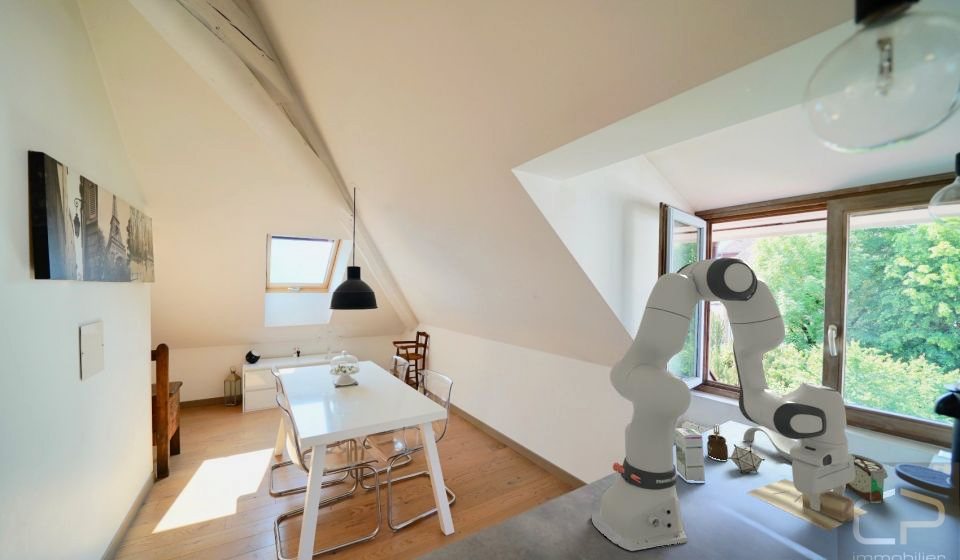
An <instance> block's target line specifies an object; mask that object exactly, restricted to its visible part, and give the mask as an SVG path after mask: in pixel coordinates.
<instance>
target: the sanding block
mask: <svg viewBox="0 0 960 560" xmlns="http://www.w3.org/2000/svg"><path fill="white" fill-rule="evenodd" d="M802 499H803V506H804V507H807V508H809V509H811V510H813V511H816V510H814V509H812V508H811V506H810V500H809V498H808V497H807V495H805V494H803V493H802ZM819 501H820V502H821V503H822V508H823V509H822V510H820V511H816V512H818V513H820V514H822V515H825V516H827V517H829V518H831V519H834V520H836V521H838V522H840V523H843V524H846V523H849V522H851V521H853V520H855V519H854V504H855V503H854V499H853V498H849V497H847V496H845V495H844V494H843V495H840V494H837V493H835V492H833V490H830V491H827V492H825V493H822V494H820V497H819ZM852 519H853V520H852ZM850 520H851V521H850ZM843 524H842V525H843Z"/></svg>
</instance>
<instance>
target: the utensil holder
mask: <svg viewBox="0 0 960 560" xmlns="http://www.w3.org/2000/svg"><path fill="white" fill-rule="evenodd" d="M721 429H722V427H721V425H720V424H718V425H713V432H712V433H713V434H709V435H708V436H707V443H706V447H707V449H706V450H707V456H708V455H709V456H711V457H713V458H716V459H720V460H727V459H728V457H729V450H728V444H727V439H726V438H725V437H724V436H722V435H721V432H720V430H721ZM709 456H708V457H709ZM727 461H728V460H727Z"/></svg>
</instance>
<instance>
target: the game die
mask: <svg viewBox="0 0 960 560" xmlns="http://www.w3.org/2000/svg"><path fill="white" fill-rule="evenodd" d="M733 446H734V450H733V452H732V454H731V456H728V459H729V460H732V462H733V463H734V464H735V466H736V467H738V469H739V470H740V471H739V473H740V474H743V472H751V473H758V470H759V468H760V465H761V463H762V461H763V462H765V461H766V459H765V458H762V457H760V456H759V454H757V452H756V451H755V450H754V449H753V448H752V446H753V445H752V444H750V445H749V446H737V445H736V444H733Z"/></svg>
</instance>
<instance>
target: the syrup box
mask: <svg viewBox="0 0 960 560" xmlns="http://www.w3.org/2000/svg"><path fill="white" fill-rule="evenodd" d="M674 439H675V442H674V443H675V456H676V457H675V459H676V472H677V471H678V472H679V473H680V474H681V475H682V476H683V477H684V478H685V479H686V480H694V481H705V482H706V478H705V476H706V475H705V460H704V444H703V442H704V441H703V434H701V433H700V432H699V431H697V430H695V429H694V428H692V427H691V428H690V427H681V428H680V427H678V428H674Z"/></svg>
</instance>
